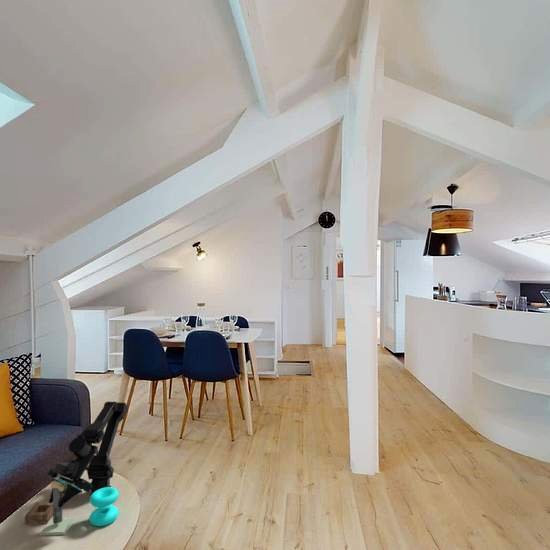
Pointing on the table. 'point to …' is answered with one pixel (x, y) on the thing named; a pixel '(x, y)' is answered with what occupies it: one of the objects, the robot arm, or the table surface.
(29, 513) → the socket block
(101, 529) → the table surface
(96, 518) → the donuts
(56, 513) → the t key
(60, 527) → the mat
